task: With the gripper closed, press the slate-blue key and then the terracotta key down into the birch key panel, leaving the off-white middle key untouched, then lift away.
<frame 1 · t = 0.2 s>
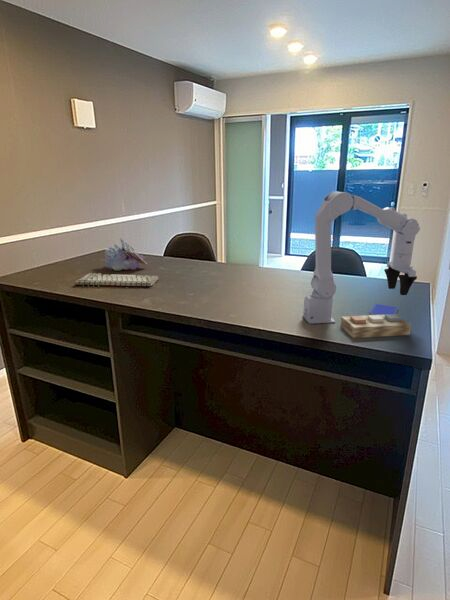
hand: (397, 291, 136), 10 cm above the table, fingers open, 7 cm apart
hard drive: (383, 314, 144), on the table
white key: (375, 319, 127), point 4 cm above the table, slide at 0.0 cm
key panel: (373, 330, 128), on the table
mechanical keyboard: (118, 284, 185), on the table
slate key: (392, 319, 127), point 4 cm above the table, slide at 0.0 cm
terracotta key: (357, 320, 126), point 4 cm above the table, slide at 0.0 cm
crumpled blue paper: (125, 268, 214), on the table
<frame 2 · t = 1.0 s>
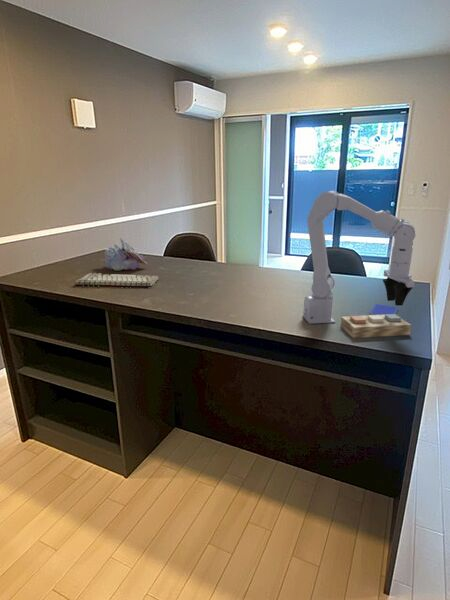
hand: (394, 302, 125), 9 cm above the table, fingers open, 4 cm apart
nothing on the table moved.
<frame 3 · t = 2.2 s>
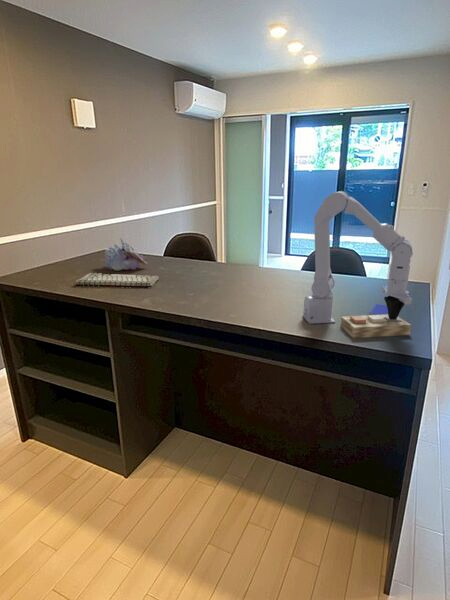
hand: (392, 318, 127), 4 cm above the table, fingers closed, pressing on slate key
slate key: (392, 321, 127), point 3 cm above the table, slide at 0.8 cm, touching gripper
everything else where it was.
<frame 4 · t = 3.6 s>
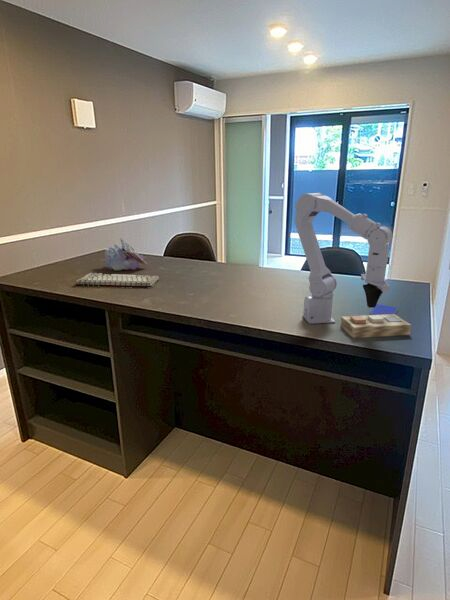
hand: (371, 306, 125), 8 cm above the table, fingers closed
slate key: (392, 322, 128), point 3 cm above the table, slide at 1.1 cm
everything else where it was.
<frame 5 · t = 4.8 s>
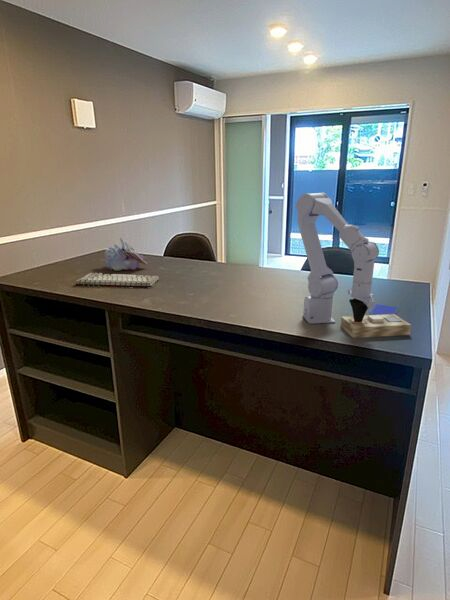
hand: (357, 321, 126), 4 cm above the table, fingers closed, pressing on terracotta key
terracotta key: (357, 323, 126), point 3 cm above the table, slide at 1.1 cm, touching gripper
everything else where it was.
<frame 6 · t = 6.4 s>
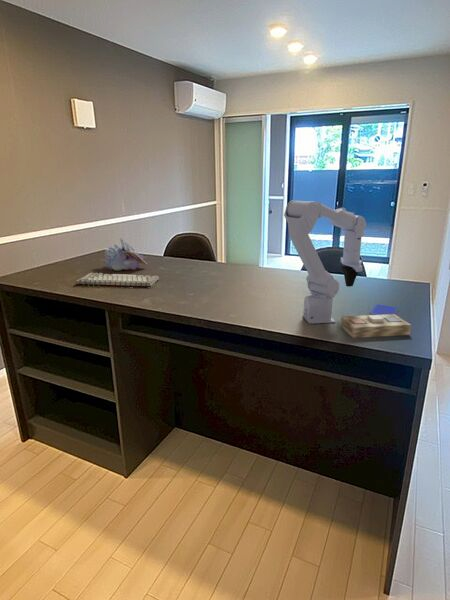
hand: (349, 286, 141), 10 cm above the table, fingers closed
terracotta key: (357, 323, 126), point 3 cm above the table, slide at 1.1 cm
everything else where it was.
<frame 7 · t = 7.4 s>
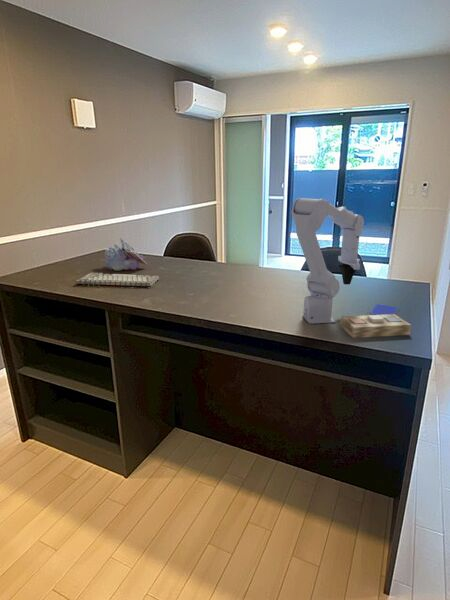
hand: (346, 283, 143), 10 cm above the table, fingers closed
nothing on the table moved.
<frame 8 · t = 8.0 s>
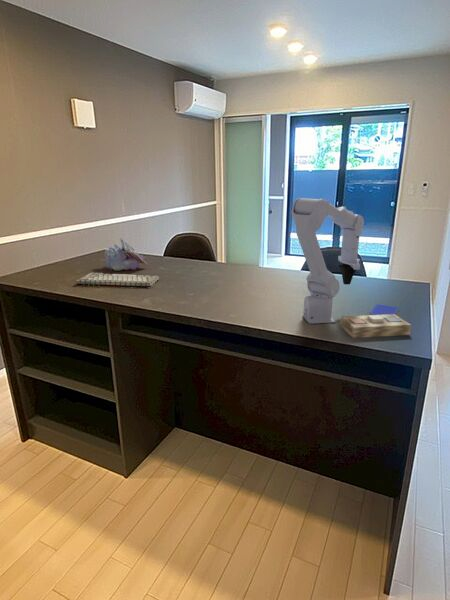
hand: (346, 283, 143), 10 cm above the table, fingers closed
nothing on the table moved.
at the end: slate key slide at 1.1 cm; terracotta key slide at 1.1 cm; white key slide at 0.0 cm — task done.
